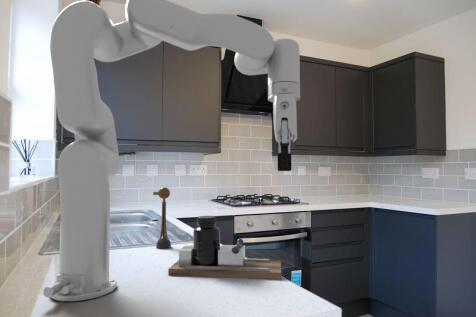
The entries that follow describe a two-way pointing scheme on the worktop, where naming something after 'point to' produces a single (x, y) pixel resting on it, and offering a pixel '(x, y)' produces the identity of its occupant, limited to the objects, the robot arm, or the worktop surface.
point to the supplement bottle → (206, 241)
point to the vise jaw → (232, 255)
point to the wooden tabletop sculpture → (163, 220)
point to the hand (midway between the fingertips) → (284, 170)
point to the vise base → (249, 269)
